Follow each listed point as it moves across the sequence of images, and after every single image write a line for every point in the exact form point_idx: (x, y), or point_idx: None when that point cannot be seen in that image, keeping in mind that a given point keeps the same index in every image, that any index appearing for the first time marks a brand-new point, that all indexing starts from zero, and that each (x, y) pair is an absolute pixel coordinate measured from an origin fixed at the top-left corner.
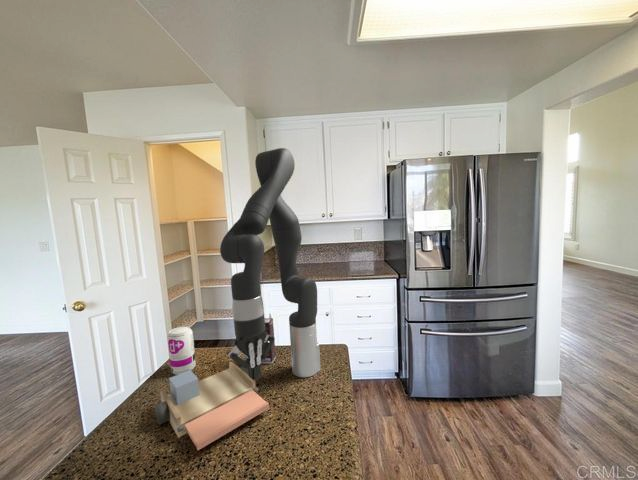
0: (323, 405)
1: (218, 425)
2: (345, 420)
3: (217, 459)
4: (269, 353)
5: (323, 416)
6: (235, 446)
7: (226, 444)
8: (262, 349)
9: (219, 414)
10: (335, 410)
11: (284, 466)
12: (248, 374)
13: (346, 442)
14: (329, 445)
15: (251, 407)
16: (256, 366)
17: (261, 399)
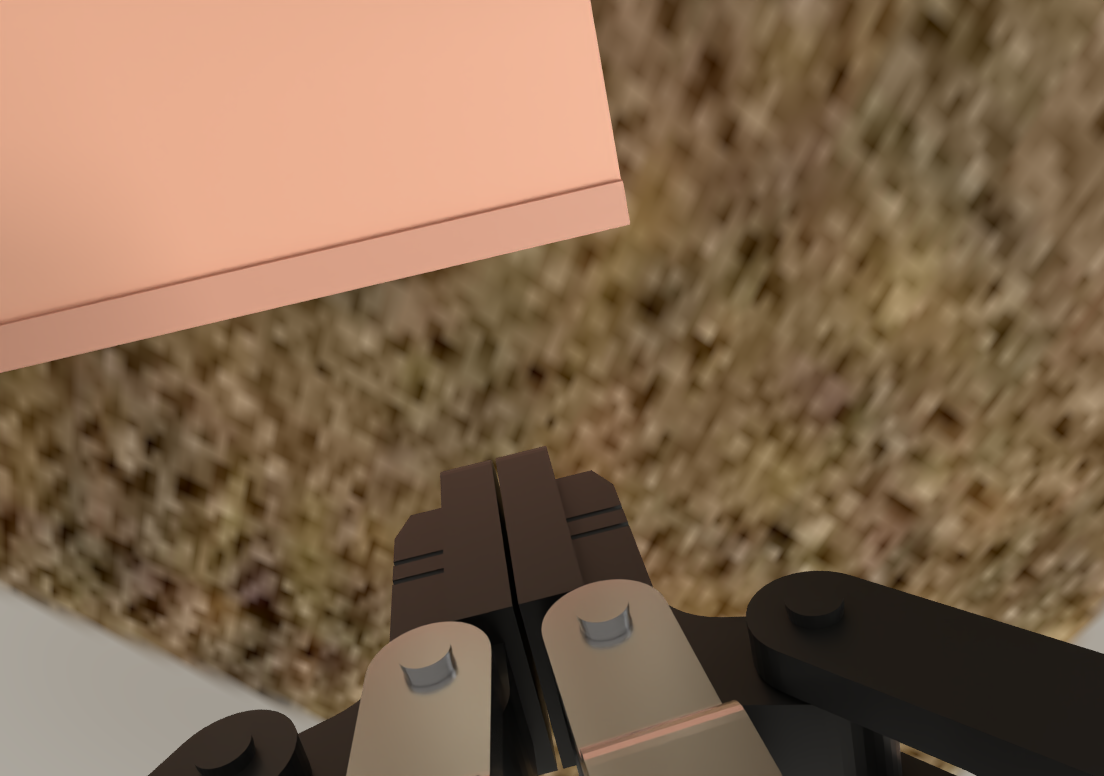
0: (1065, 371)
1: (7, 248)
2: (1063, 601)
3: (30, 471)
4: None
5: (973, 486)
6: (197, 416)
7: (118, 352)
8: (961, 731)
9: (21, 48)
10: (1090, 477)
11: None
12: (394, 563)
13: (924, 753)
14: None
15: (430, 157)
16: (569, 761)
17: (585, 78)
